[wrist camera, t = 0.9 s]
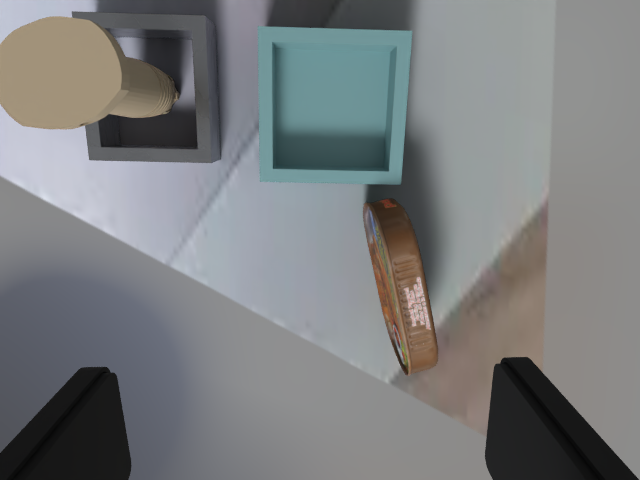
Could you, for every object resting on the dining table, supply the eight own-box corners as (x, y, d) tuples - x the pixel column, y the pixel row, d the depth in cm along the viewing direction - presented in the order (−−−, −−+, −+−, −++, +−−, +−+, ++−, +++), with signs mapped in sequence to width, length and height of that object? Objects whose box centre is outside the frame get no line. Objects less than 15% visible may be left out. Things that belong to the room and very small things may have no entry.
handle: (208, 109, 36) (137, 101, 21) (137, 135, 36) (21, 144, 22) (185, 49, 34) (92, -2, 20) (112, 77, 35) (-30, 46, 20)
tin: (357, 195, 38) (369, 215, 30) (392, 187, 38) (414, 205, 30) (389, 344, 42) (407, 398, 34) (421, 337, 42) (447, 390, 34)
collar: (95, 22, 34) (71, 11, 30) (215, 25, 34) (205, 15, 31) (109, 156, 37) (89, 160, 33) (220, 159, 37) (211, 162, 33)
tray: (264, 36, 34) (257, 26, 30) (401, 40, 35) (412, 30, 31) (265, 175, 37) (259, 181, 33) (391, 178, 37) (401, 184, 34)
